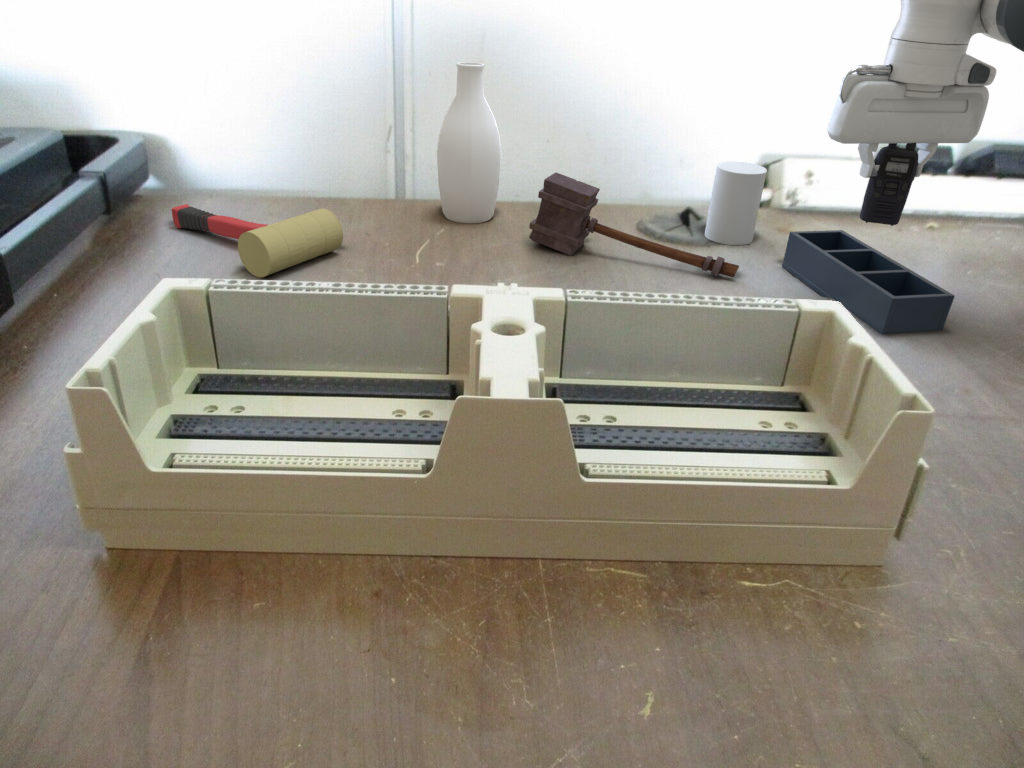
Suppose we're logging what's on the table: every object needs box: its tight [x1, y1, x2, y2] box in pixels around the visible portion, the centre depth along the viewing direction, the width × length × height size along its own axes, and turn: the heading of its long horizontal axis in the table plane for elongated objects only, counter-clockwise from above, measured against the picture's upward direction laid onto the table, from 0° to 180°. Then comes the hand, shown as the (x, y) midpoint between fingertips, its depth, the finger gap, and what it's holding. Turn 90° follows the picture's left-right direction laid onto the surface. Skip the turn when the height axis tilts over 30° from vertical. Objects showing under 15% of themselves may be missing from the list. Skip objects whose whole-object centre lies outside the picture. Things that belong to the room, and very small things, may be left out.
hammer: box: [528, 172, 740, 278], centre depth 119 cm, size 7×33×10 cm, turn 66°
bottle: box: [436, 61, 502, 224], centre depth 131 cm, size 11×11×25 cm
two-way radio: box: [859, 143, 918, 227], centre depth 102 cm, size 6×4×15 cm
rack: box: [781, 229, 956, 335], centre depth 110 cm, size 9×26×6 cm, turn 12°
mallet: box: [171, 203, 344, 278], centre depth 118 cm, size 14×7×30 cm
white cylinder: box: [704, 161, 768, 246], centre depth 130 cm, size 8×8×12 cm
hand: (889, 176), depth 102 cm, fingers closed on two-way radio, 5 cm apart
